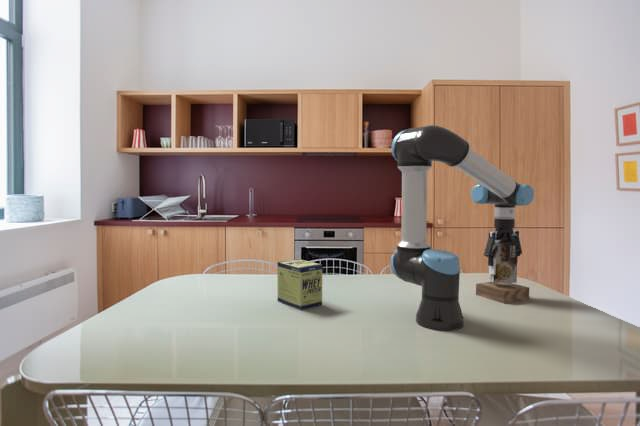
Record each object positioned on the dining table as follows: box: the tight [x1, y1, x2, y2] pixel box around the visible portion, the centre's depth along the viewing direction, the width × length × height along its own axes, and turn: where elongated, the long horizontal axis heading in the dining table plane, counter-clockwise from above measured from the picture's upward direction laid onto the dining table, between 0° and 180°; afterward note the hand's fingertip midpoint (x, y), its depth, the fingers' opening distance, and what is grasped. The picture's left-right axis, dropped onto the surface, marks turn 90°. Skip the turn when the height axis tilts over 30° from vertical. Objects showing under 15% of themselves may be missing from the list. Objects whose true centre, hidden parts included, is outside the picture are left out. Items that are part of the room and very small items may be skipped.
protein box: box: [277, 258, 323, 311], centre depth 166 cm, size 10×16×16 cm
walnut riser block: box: [475, 281, 530, 305], centre depth 175 cm, size 14×14×5 cm
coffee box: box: [488, 241, 518, 284], centre depth 174 cm, size 9×6×16 cm
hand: (502, 272), depth 174 cm, fingers closed on coffee box, 10 cm apart
